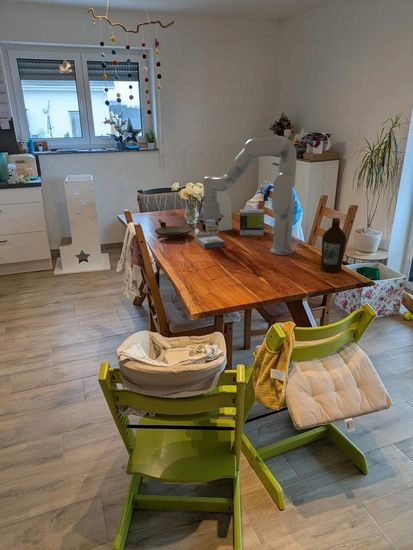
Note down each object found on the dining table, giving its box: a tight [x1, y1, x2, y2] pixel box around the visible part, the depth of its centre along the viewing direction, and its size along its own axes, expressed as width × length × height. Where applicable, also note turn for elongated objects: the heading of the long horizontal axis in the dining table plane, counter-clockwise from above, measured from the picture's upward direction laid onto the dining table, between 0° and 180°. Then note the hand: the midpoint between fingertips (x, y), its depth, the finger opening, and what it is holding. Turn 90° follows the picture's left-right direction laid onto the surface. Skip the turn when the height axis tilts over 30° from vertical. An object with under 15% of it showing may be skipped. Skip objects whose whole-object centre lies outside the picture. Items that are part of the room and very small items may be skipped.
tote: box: [205, 220, 216, 226], centre depth 224 cm, size 6×4×2 cm
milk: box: [214, 190, 233, 232], centre depth 257 cm, size 12×12×26 cm
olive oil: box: [320, 217, 347, 274], centre depth 184 cm, size 11×11×25 cm
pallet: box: [201, 224, 220, 235], centre depth 225 cm, size 10×6×4 cm, turn 19°
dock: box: [196, 232, 225, 249], centre depth 228 cm, size 14×12×5 cm
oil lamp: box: [154, 218, 192, 239], centre depth 245 cm, size 22×30×8 cm
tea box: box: [239, 208, 265, 236], centre depth 246 cm, size 15×10×15 cm, turn 84°
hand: (210, 229), depth 225 cm, fingers closed on pallet, 6 cm apart
